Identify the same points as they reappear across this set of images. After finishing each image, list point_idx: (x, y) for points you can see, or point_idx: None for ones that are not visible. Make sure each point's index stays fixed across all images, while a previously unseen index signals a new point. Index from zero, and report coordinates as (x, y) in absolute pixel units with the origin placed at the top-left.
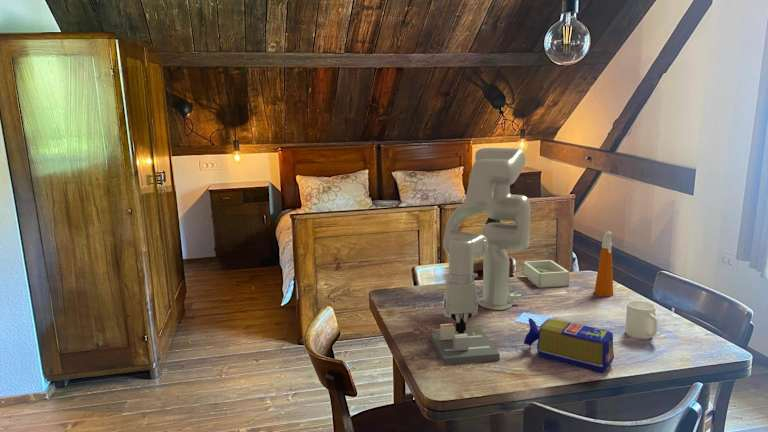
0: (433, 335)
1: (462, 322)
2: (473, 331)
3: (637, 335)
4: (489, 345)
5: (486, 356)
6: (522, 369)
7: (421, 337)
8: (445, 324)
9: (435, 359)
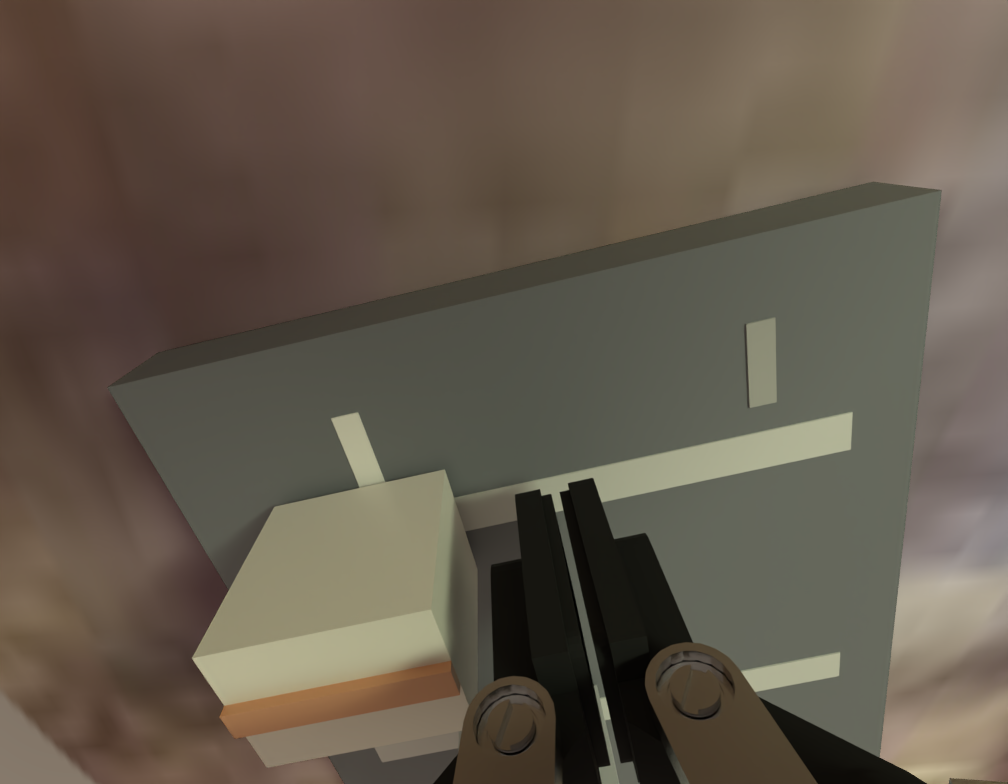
0: (172, 462)
1: (633, 757)
2: (780, 284)
3: None
4: (849, 641)
5: None
6: (948, 781)
7: (10, 314)
8: (297, 655)
9: None
